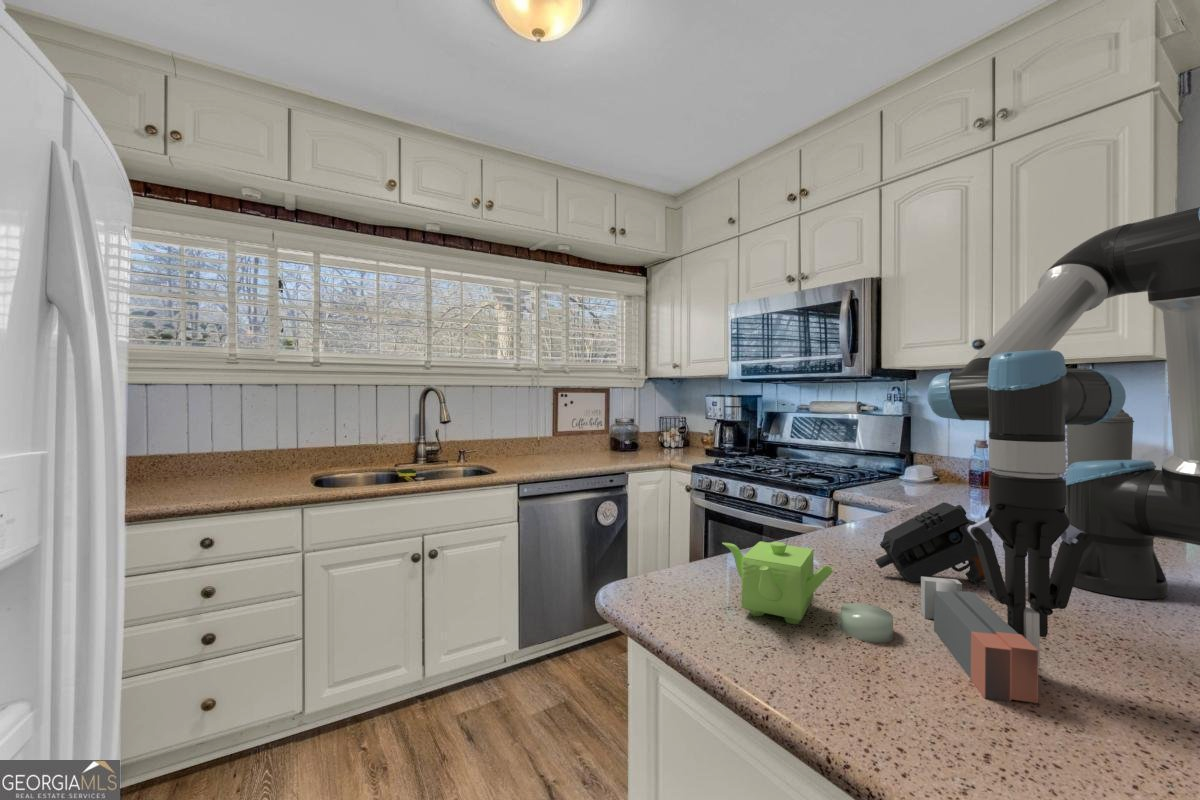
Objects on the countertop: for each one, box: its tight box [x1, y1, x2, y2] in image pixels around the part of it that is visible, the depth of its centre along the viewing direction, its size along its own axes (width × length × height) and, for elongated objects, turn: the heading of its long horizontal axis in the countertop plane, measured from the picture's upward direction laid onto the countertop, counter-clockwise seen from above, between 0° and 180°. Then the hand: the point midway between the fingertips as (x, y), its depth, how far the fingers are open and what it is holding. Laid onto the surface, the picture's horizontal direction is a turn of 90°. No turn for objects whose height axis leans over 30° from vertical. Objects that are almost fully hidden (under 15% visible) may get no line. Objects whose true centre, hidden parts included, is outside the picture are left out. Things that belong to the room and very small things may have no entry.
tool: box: [874, 501, 1001, 586], centre depth 99 cm, size 6×19×15 cm, turn 78°
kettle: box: [721, 541, 835, 625], centre depth 85 cm, size 15×14×11 cm
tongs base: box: [920, 576, 1012, 703], centre depth 72 cm, size 24×5×7 cm, turn 164°
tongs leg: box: [955, 590, 1039, 704], centre depth 68 cm, size 18×3×6 cm, turn 163°
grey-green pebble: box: [840, 602, 894, 644], centre depth 78 cm, size 7×7×3 cm
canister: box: [1066, 408, 1135, 468], centre depth 133 cm, size 13×13×35 cm
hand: (1027, 660), depth 65 cm, fingers closed
